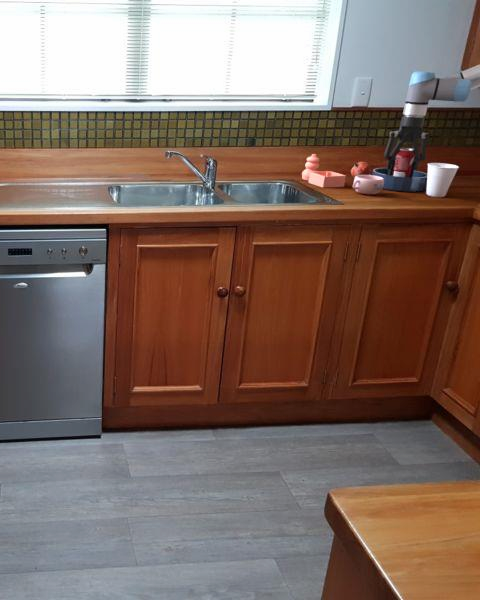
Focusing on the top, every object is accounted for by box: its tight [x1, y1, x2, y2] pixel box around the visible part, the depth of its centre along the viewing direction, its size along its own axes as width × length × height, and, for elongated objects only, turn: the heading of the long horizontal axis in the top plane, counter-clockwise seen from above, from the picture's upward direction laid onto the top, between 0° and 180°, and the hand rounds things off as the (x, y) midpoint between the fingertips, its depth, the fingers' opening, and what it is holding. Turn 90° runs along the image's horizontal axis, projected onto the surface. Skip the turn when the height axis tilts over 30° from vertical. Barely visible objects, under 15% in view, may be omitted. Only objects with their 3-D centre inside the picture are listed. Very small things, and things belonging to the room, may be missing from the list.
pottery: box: [301, 153, 347, 189], centre depth 237 cm, size 18×10×10 cm, turn 16°
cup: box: [425, 162, 460, 198], centre depth 220 cm, size 10×10×11 cm
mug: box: [352, 174, 384, 196], centre depth 221 cm, size 12×10×6 cm
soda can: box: [392, 147, 415, 177], centre depth 231 cm, size 7×7×12 cm
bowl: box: [371, 167, 428, 193], centre depth 233 cm, size 19×19×6 cm
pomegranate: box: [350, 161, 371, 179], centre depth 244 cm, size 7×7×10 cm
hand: (399, 178), depth 233 cm, fingers closed on soda can, 7 cm apart
